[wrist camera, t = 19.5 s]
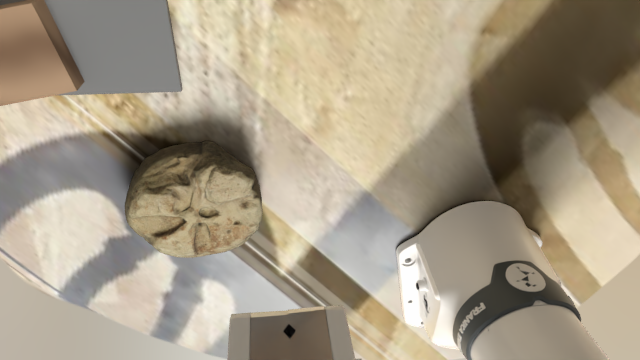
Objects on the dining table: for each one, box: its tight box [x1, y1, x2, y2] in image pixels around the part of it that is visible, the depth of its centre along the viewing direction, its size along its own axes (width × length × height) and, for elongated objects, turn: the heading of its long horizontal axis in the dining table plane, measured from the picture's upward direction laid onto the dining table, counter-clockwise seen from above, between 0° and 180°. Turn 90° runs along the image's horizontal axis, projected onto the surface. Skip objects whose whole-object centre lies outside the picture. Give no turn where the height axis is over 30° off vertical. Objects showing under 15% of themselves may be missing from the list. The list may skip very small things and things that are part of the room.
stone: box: [125, 141, 262, 257], centre depth 44 cm, size 13×13×5 cm
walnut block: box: [0, 0, 85, 106], centre depth 35 cm, size 7×7×2 cm
